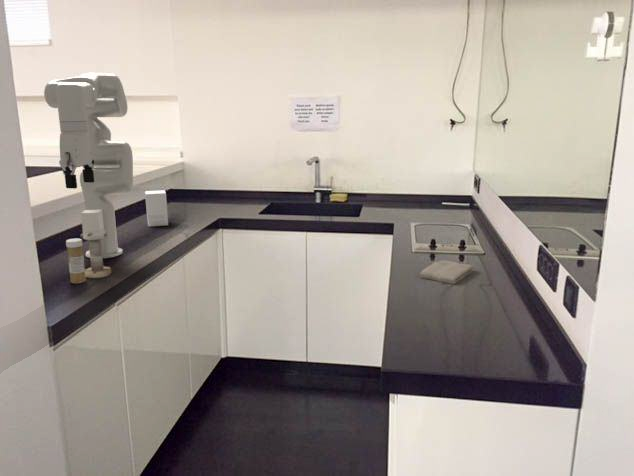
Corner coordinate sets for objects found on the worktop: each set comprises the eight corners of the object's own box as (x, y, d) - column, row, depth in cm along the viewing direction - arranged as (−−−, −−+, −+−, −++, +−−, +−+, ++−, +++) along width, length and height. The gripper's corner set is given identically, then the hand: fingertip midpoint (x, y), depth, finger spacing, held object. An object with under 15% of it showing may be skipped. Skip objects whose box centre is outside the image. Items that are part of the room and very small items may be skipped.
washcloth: (474, 272, 179) (475, 263, 178) (454, 286, 165) (455, 277, 164) (440, 266, 186) (441, 257, 185) (419, 279, 171) (419, 270, 170)
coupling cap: (84, 235, 173) (81, 209, 171) (109, 234, 174) (107, 209, 172) (75, 242, 164) (72, 214, 162) (102, 241, 165) (100, 214, 163)
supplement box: (167, 221, 251) (165, 189, 247) (168, 225, 242) (166, 192, 239) (147, 222, 248) (144, 190, 244) (147, 226, 240) (145, 193, 236)
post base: (88, 270, 176) (85, 235, 174) (113, 270, 177) (110, 235, 174) (81, 278, 169) (77, 241, 166) (107, 277, 170) (104, 241, 167)
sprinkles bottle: (73, 279, 168) (68, 238, 165) (88, 279, 168) (84, 237, 165) (68, 284, 164) (63, 241, 160) (83, 283, 164) (79, 241, 161)
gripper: (78, 124, 165) (84, 179, 170) (44, 129, 148) (52, 190, 153) (101, 125, 164) (106, 180, 169) (70, 130, 148) (76, 191, 152)
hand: (80, 185), depth 161 cm, fingers open, 9 cm apart
